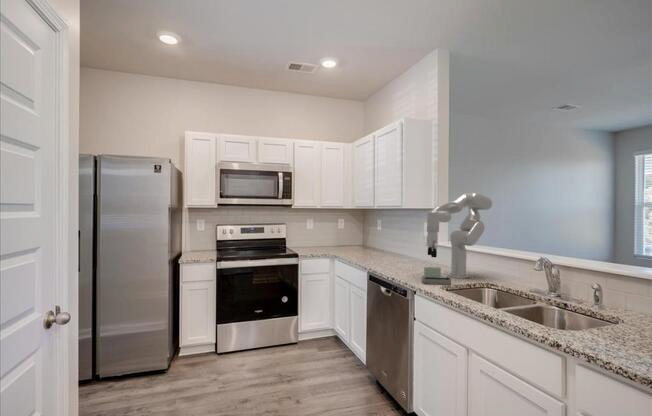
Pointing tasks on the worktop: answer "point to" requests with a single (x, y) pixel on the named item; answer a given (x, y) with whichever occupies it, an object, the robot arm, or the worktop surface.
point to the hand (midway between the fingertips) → (431, 256)
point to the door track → (436, 280)
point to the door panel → (432, 272)
